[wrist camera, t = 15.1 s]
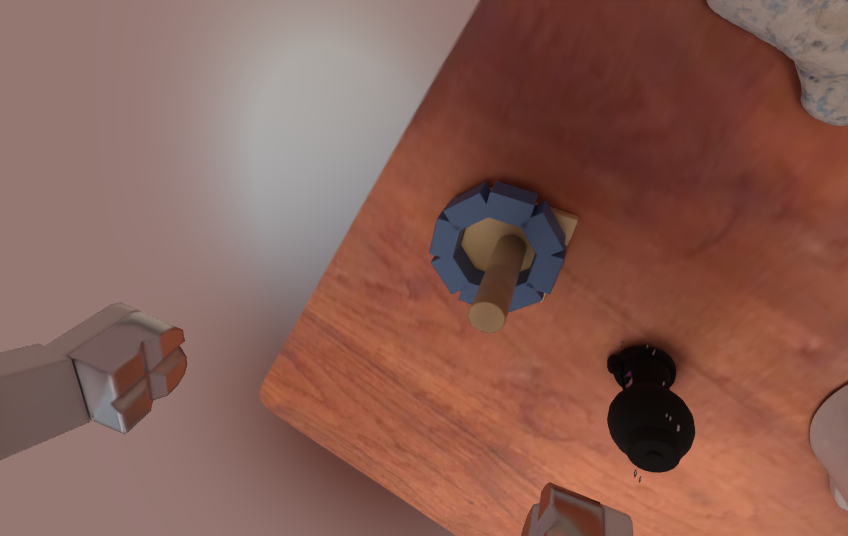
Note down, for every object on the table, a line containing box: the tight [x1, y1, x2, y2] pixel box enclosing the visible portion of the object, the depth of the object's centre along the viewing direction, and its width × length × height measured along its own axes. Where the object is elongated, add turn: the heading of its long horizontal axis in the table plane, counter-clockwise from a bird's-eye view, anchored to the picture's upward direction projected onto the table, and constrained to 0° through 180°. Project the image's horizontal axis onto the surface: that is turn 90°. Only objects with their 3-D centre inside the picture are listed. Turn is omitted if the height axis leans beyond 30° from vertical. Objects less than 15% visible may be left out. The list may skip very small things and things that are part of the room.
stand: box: [461, 184, 579, 333], centre depth 34 cm, size 8×8×11 cm
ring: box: [429, 181, 566, 312], centre depth 37 cm, size 10×10×2 cm
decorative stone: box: [706, 0, 848, 126], centre depth 25 cm, size 13×7×5 cm, turn 63°
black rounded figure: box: [607, 342, 695, 483], centre depth 36 cm, size 7×6×10 cm
